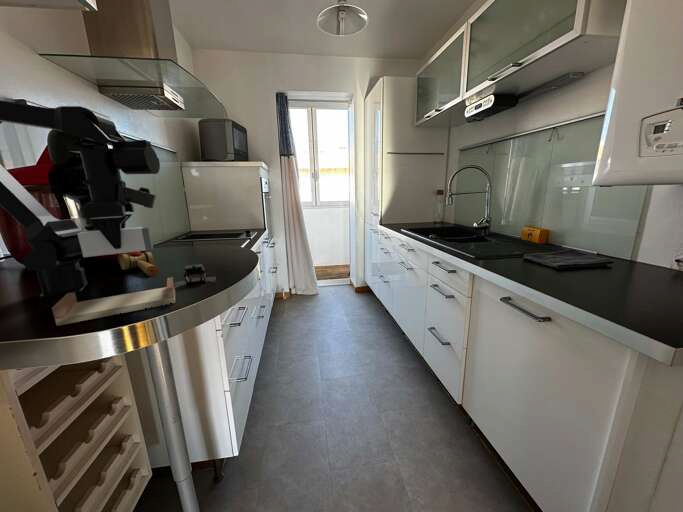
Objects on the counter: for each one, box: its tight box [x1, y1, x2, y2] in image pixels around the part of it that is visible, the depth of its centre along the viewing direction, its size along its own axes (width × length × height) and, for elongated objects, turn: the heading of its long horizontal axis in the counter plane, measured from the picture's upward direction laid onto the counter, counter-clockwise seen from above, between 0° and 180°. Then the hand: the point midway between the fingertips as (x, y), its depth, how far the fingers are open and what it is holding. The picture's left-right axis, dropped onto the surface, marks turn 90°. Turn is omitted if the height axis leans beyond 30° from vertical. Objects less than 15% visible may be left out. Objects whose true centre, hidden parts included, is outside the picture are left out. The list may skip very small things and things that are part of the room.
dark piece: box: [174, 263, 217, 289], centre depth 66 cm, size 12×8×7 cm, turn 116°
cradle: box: [51, 276, 176, 327], centre depth 53 cm, size 17×8×3 cm, turn 121°
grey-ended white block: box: [78, 226, 154, 258], centre depth 61 cm, size 12×4×5 cm, turn 121°
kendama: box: [117, 251, 159, 277], centre depth 78 cm, size 8×6×18 cm
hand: (119, 247), depth 62 cm, fingers closed on grey-ended white block, 4 cm apart
